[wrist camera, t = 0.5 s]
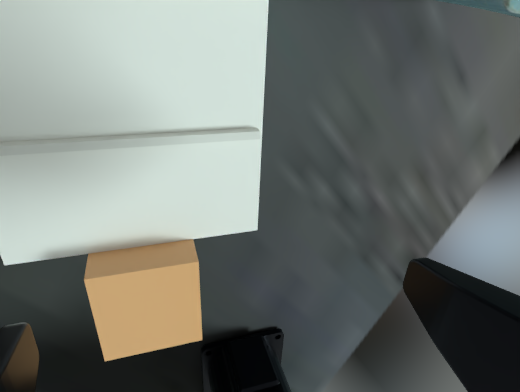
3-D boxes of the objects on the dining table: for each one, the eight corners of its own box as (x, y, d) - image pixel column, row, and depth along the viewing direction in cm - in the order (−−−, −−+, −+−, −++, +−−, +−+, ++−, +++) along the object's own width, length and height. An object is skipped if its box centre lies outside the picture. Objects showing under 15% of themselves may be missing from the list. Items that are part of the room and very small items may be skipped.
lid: (248, 289, 19) (262, 326, 17) (40, 328, 16) (27, 378, 14) (266, -196, 10) (302, -246, 8) (-184, -292, 7) (-312, -406, 5)
